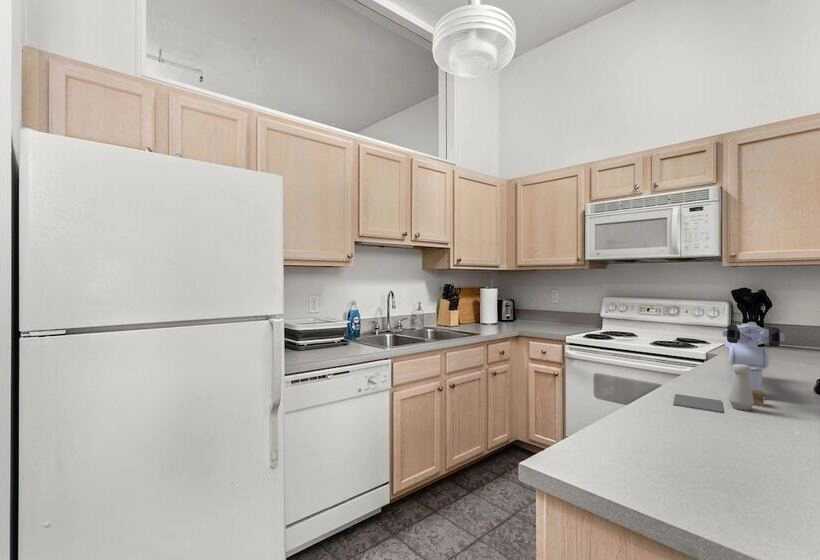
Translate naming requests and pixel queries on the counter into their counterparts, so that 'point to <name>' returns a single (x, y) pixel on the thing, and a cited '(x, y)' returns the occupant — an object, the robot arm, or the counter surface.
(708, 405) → the rubber mat
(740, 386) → the salt shaker
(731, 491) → the counter surface
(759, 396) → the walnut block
